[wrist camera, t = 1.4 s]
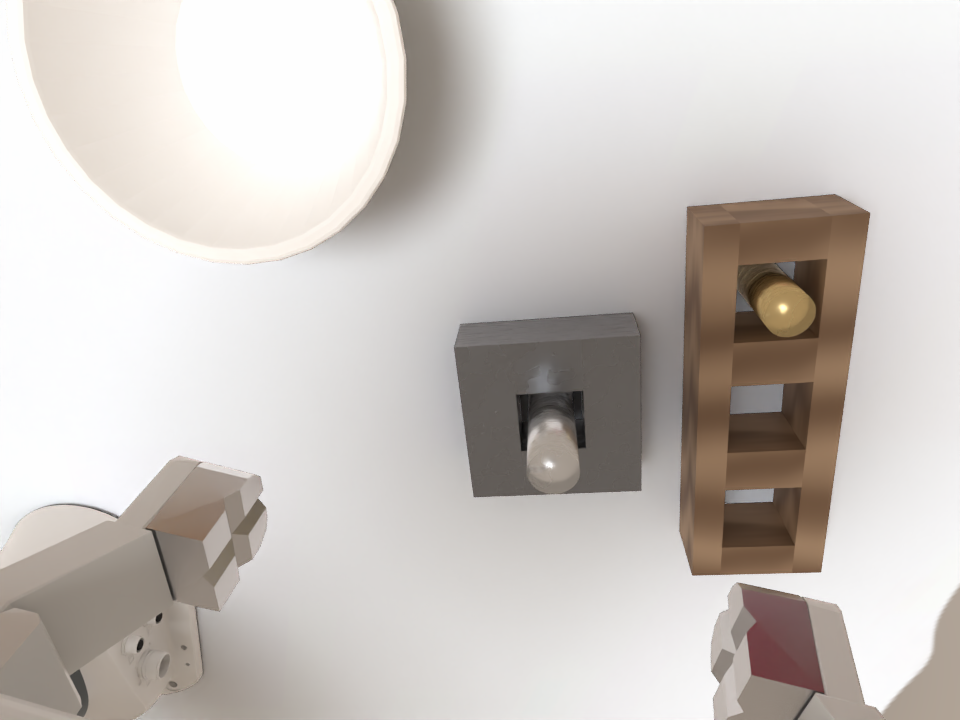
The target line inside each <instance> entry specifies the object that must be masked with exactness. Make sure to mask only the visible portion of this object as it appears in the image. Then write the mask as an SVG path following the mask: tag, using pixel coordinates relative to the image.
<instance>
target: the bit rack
mask: <svg viewBox="0 0 960 720" xmlns="http://www.w3.org/2000/svg"><path fill="white" fill-rule="evenodd" d="M869 218H870V213H869V212H868V211H866V210H864V209H862V208H860V207H858V206H856V205H854V204H852V203H850V202H849V201H847V200H845V199H843V198H841V197H839V196H837V195H835V194H833V195H822V196H810V197H798V198H786V199H774V200H763V201H751V202H739V203H727V204H715V205H704V206H692V207H687V235H686V277H685V320H684V362H683V404H682V447H681V489H680V534H681V538H682V541H683V545H684V548H685V552H686V555H687V559H688V562H689V566H690V569H691V573H692V575H730V574H771V573H811V572H821V569H822V561H823V554H824V547H825V539H826V532H827V525H828V517H829V510H830V503H831V495H832V488H833V481H834V473H835V466H836V459H837V452H838V444H839V437H840V430H841V422H842V415H843V408H844V400H845V393H846V386H847V378H848V371H849V364H850V357H851V349H852V342H853V335H854V327H855V320H856V313H857V305H858V298H859V291H860V283H861V276H862V269H863V262H864V254H865V247H866V240H867V232H868V225H869ZM792 261H795V272H794V282H795V283H796V284H797V285H798V286H799V287H800V288H801V289H802V290H803V291H804V292H805V293H806V294H807V295H808V296H809V297H810V298H811V299H812V300H813V301H814V304H815V307H816V315H815V318H814V321H813V322H812V324H811V325H810V327H809V328H808V329H807V330H805V331H804V332H802V333H801V334H799V335H796V336H792V337H780V336H777V335H775V334H773V333H772V332H771V331H770V330H769V329H768V328H767V327H766V326H765V324H764V323H763V322H762V320H761V319H760V318H759V317H758V315H757V314H756V313H755V312H754V311H750V312H735V311H736V293H737V275H738V265H752V264H765V263H779V262H792ZM769 384H784V390H783V400H782V411H781V412H772V413H752V414H732V415H730V398H731V387H733V386H751V385H769ZM770 488H774V497H773V502H764V503H736V504H725V490H744V489H770Z"/></svg>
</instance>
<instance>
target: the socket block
mask: <svg viewBox="0 0 960 720" xmlns="http://www.w3.org/2000/svg"><path fill="white" fill-rule="evenodd" d="M454 350H455V358H456V365H457V373H458V380H459V388H460V396H461V403H462V411H463V418H464V426H465V434H466V441H467V449H468V457H469V464H470V472H471V479H472V487H473V495H474V497H491V496H517V495H543V494H548V493H544V492H541V491H539V490H537V489H536V488H535V487H533V486H532V484H531V483H530V482H529V480H528V477H527V440H528V422H522V413H521V402H520V394H537V393H555V392H573V391H581V396H582V417H583V419H576V420H575V425H576V435H577V446H578V456H579V466H580V476H579V479H578V481H577V483H576V484H575V486H574V487H572V488H571V489H570V490H568V491H566V492H563V493H559V494H569V493H594V492H620V491H641V335H640V333H639V330H638V327H637V324H636V321H635V318H634V315H633V313H620V314H605V315H590V316H575V317H561V318H546V319H531V320H517V321H502V322H487V323H473V324H460V328H459V331H458V335H457V339H456V343H455V346H454Z"/></svg>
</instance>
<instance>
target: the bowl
mask: <svg viewBox="0 0 960 720" xmlns="http://www.w3.org/2000/svg"><path fill="white" fill-rule="evenodd" d="M6 15H7V32H8V41H9V46H10V50H11V54H12V59H13V63H14V67H15V72H16V76H17V80H18V83H19V86H20V88H21V91H22V93H23V95H24V98H25V100H26V103H27V105H28V108H29V110H30V113H31V115H32V118H33V120H34V122H35V124H36V126H37V127H38V129H39V131H40V132H41V134H42V136H43V137H44V139H45V141H46V142H47V144H48V146H49V147H50V149H51V151H52V153H53V154H54V156H55V158H56V159H57V160H58V161H59V163H60V164H61V165H62V166H63V167H64V169H65V170H66V171H67V172H68V174H69V175H70V176H71V177H72V179H73V180H74V181H75V182H76V183H77V185H78V186H79V187H80V188H81V190H82V191H84V192H85V193H86V194H87V195H88V196H89V197H90V198H91V199H92V200H93V201H95V202H96V203H97V204H98V205H99V206H100V207H101V208H102V209H103V210H104V211H106V212H107V213H108V214H109V215H110V216H111V217H112V218H114V219H116V220H117V221H119V222H120V223H122V224H123V225H125V226H126V227H128V228H129V229H131V230H132V231H134V232H135V233H137V234H138V235H140V236H141V237H143V238H145V239H147V240H149V241H151V242H154V243H156V244H158V245H160V246H162V247H165V248H167V249H169V250H171V251H174V252H176V253H179V254H183V255H187V256H190V257H194V258H198V259H202V260H206V261H210V262H218V263H233V264H255V263H262V262H270V261H278V260H283V259H285V258H288V257H291V256H294V255H297V254H299V253H302V252H305V251H308V250H311V249H313V248H315V247H316V246H318V245H319V244H321V243H323V242H324V241H326V240H327V239H329V238H331V237H332V236H334V235H335V234H337V233H339V232H340V231H341V230H342V229H343V228H345V227H346V226H347V225H348V224H349V223H350V222H351V221H352V220H353V219H354V218H355V217H356V216H357V215H358V214H359V213H360V212H361V211H362V210H363V209H364V208H365V207H366V205H367V204H368V202H369V201H370V199H371V198H372V196H373V195H374V193H375V192H376V190H377V189H378V187H379V186H380V184H381V182H382V181H383V179H384V178H385V176H386V173H387V171H388V168H389V166H390V163H391V161H392V158H393V156H394V153H395V151H396V148H397V146H398V143H399V140H400V134H401V129H402V123H403V118H404V112H405V107H406V54H405V48H404V43H403V37H402V32H401V26H400V21H399V15H398V11H397V9H396V6H395V3H394V0H6Z"/></svg>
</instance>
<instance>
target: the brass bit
mask: <svg viewBox="0 0 960 720" xmlns="http://www.w3.org/2000/svg"><path fill="white" fill-rule="evenodd" d="M737 290H738V291H739V293H740V294H741V295H742V296H743V298H744V299H745V300H746V302H747V303H748V304H749V305H750V307H751V308H752V309H753V310H754V312H755V313H756V314H757V315H758V317H759V318H760V319H761V320H762V322H763V323H764V324H765V326H766V327H767V328H768V329H769V330H770V331H771V332H772V333H773V334H775V335H777V336H780V337H792V336H796V335H799V334H801V333H802V332H804V331H805V330H807V329H808V328H809V327H810V325H811V324H812V322H813V321H814V318H815V315H816V307H815V304H814V301H813V300H812V299H811V298H810V297H809V296H808V295H807V294H806V293H805V292H804V291H803V290H802V289H801V288H800V287H799V286H798V285H797V284H796V283H795V282H794V281H793V280H792V279H790V278H789V277H788V276H787V275H786V274H785V273H784V272H783V271H782V270H781V269H780V268H779V267H778V266H777V265H776V264H775V263H765V264H752V265H738V275H737Z"/></svg>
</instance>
